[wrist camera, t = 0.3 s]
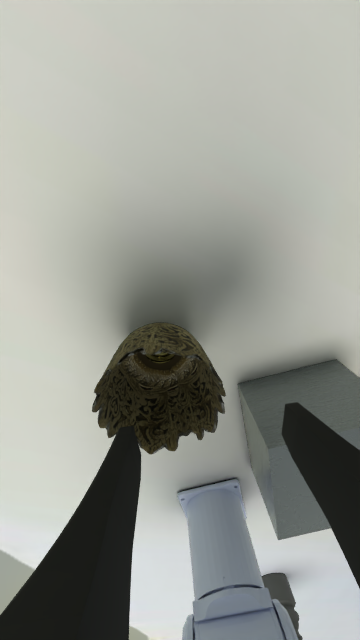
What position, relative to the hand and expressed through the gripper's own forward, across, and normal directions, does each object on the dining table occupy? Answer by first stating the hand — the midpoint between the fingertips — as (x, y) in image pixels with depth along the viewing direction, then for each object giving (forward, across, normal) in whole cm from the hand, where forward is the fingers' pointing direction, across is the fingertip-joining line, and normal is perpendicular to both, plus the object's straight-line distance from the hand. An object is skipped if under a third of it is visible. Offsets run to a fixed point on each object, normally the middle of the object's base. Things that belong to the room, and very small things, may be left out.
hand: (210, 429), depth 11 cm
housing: (+10, -10, +13) cm, 19 cm away
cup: (+10, +2, 0) cm, 10 cm away
